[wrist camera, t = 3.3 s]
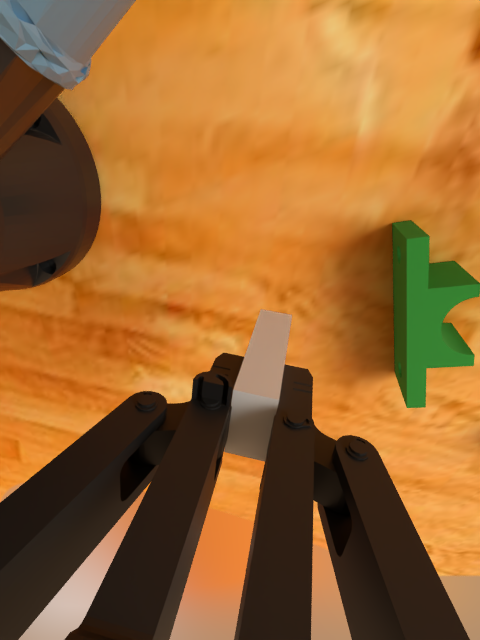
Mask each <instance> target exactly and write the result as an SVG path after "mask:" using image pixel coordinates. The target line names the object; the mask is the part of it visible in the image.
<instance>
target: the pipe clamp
mask: <svg viewBox="0 0 480 640" xmlns="http://www.w3.org/2000/svg"><path fill="white" fill-rule="evenodd" d="M392 239H393V301H394V364H395V374H396V377H397V380H398V383H399V386H400V389H401V392H402V395H403V398H404V401H405V404H406V407H407V408H420V407H425V405H426V368H439V367H458V366H474V354H473V352H472V351H471V349H470V348H469V347H468V345H467V344H466V343H465V341H464V340H463V338H462V337H461V336H460V334H459V333H458V332H457V330H456V329H455V328H454V326H453V325H452V323H442V322H443V320H444V318H445V316H446V315H447V313H448V312H449V311H450V310H451V309H452V308H453V307H454V306H455V305H457V304H458V303H460V302H462V301H464V300H467V299H470V298H473V297H479V294H480V283H479V282H478V281H477V280H475V279H474V278H473V277H472V276H471V275H470V274H469V273H468V272H466V271H465V270H464V269H463V268H462V267H461V266H460V265H459V264H457V263H456V262H455V261H449V262H440V263H431V264H429V235H427V234H426V233H425V232H424V231H423V230H422V229H421V228H419V227H418V226H417V225H416V224H415V223H414V222H412V221H411V220H410V221H403V222H396V223H392Z"/></svg>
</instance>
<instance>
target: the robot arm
mask: <svg viewBox="0 0 480 640" xmlns="http://www.w3.org/2000/svg"><path fill="white" fill-rule="evenodd" d="M135 1H136V0H0V291H5V290H19V289H27V288H32V287H36V286H39V285H42V284H45V283H47V282H49V281H51V280H53V279H55V278H57V277H59V276H61V275H63V274H64V273H66V272H68V271H69V270H71V269H72V268H74V267H75V266H76V265H77V264H78V263H79V262H80V261H81V260H82V259H83V258H84V257H85V255H86V254H87V252H88V251H89V249H90V247H91V245H92V243H93V241H94V239H95V236H96V233H97V230H98V226H99V221H100V213H101V193H100V185H99V179H98V174H97V170H96V166H95V162H94V159H93V157H92V154H91V151H90V149H89V146H88V144H87V142H86V140H85V138H84V136H83V134H82V132H81V130H80V128H79V127H78V125H77V123H76V122H75V120H74V119H73V117H72V116H71V114H70V113H69V112H68V110H67V109H66V108H65V107H64V105H63V104H62V103H61V102H60V101H59V100H58V98H57V97H58V96H59V94H60V93H61V92H62V91H63V90H64V89H72V90H73V88H74V87H75V86H76V85H77V84H79V83H80V82H81V81H83V80H84V79H86V77H87V76H88V75H89V71H90V67H91V57H92V56H93V54H94V53H95V52H96V51H97V49H98V48H99V47H100V45H101V44H102V43H103V42H104V40H105V39H106V38H107V36H108V35H109V34H110V33H111V31H112V30H113V29H114V28H115V26H116V25H117V24H118V22H119V21H120V20H121V19H122V17H123V16H124V15H125V14H126V12H127V11H128V10H129V8H130V7H131V6H132V5H133V3H134V2H135ZM291 319H292V315H289V314H284V313H278V312H273V311H268V310H263V309H261V310H260V313H259V316H258V319H257V322H256V325H255V328H254V331H253V334H252V337H251V340H250V342H249V345H248V348H247V351H246V354H245V357H242V356H237V355H232V354H228V353H223V354H221V355H220V356H218V357H217V358H216V359H215V361H214V363H213V366H212V368H211V370H210V371H208V372H202V373H200V374H198V375H196V376H195V378H194V379H193V389H192V399H191V401H189V402H185V403H177V404H167V401H166V399H165V397H164V396H162V395H161V394H159V393H156V392H152V391H143V392H139V393H136V394H134V395H132V396H130V397H129V398H128V399H127V400H125V401H124V402H123V403H122V404H120V405H119V406H118V407H117V408H116V409H114V410H113V411H112V412H111V413H109V414H108V415H107V416H106V417H105V418H103V419H102V420H101V421H100V422H98V423H97V424H96V425H95V426H94V427H92V428H91V429H90V430H89V431H87V432H86V433H85V434H84V435H83V436H81V437H80V438H79V439H78V440H76V441H75V442H74V443H73V444H72V445H70V446H69V447H68V448H67V449H65V450H64V451H63V452H62V453H61V454H59V455H58V456H57V457H56V458H54V459H53V460H52V461H51V462H50V463H48V464H47V465H46V466H45V467H43V468H42V469H41V470H40V471H39V472H37V473H36V474H35V475H34V476H32V477H31V478H30V479H29V480H28V481H26V482H25V483H24V484H23V485H21V486H20V487H19V488H18V489H17V490H15V491H14V492H13V493H12V494H10V495H9V496H8V497H7V498H6V499H4V500H3V501H2V502H1V503H0V640H18V639H19V638H20V637H21V636H22V635H23V633H24V632H25V631H26V630H27V629H28V627H29V626H30V625H31V624H32V622H33V621H34V620H35V619H36V618H37V617H38V615H39V614H40V613H41V612H42V611H43V610H44V608H45V607H46V606H47V605H48V603H49V602H50V601H51V600H52V599H53V598H54V596H55V595H56V594H57V593H58V592H59V590H60V589H61V588H62V587H63V586H64V584H65V583H66V582H67V581H68V580H69V579H70V577H71V576H72V575H73V574H74V572H75V571H76V570H77V569H78V568H79V567H80V565H81V564H82V563H83V562H84V561H85V559H86V558H87V557H88V556H89V555H90V554H91V552H92V551H93V550H94V549H95V548H96V546H97V545H98V544H99V543H100V542H101V540H102V539H103V538H104V537H105V536H106V534H107V533H108V532H109V531H110V530H111V529H112V527H113V526H114V525H115V524H116V523H117V521H118V520H119V519H120V518H121V516H122V515H123V514H124V513H125V512H126V511H127V509H128V508H129V507H130V506H131V505H132V504H133V502H134V501H135V500H136V499H137V498H138V496H139V495H140V494H141V493H142V492H143V490H144V489H145V488H146V487H147V486H148V484H149V483H150V482H151V483H150V485H149V487H148V489H147V491H146V493H145V495H144V497H143V500H142V502H141V504H140V506H139V508H138V510H137V512H136V514H135V516H134V518H133V520H132V522H131V524H130V526H129V528H128V530H127V532H126V535H125V536H124V539H123V541H122V543H121V545H120V547H119V549H118V551H117V553H116V555H115V557H114V559H113V561H112V563H111V565H110V567H109V569H108V571H107V573H106V575H105V578H104V579H103V581H102V584H101V586H100V588H99V590H98V592H97V594H96V596H95V598H94V600H93V602H92V604H91V606H90V608H89V610H88V612H87V614H86V616H85V618H84V620H83V622H82V624H81V625H80V626H79V627H78V628H77V629H75V630H74V631H72V632H70V633H69V635H68V636H67V637H66V638H65V640H169V639H170V635H171V632H172V629H173V625H174V621H175V619H176V615H177V612H178V609H179V605H180V601H181V598H182V595H183V592H184V588H185V585H186V582H187V578H188V575H189V572H190V568H191V564H192V561H193V558H194V555H195V551H196V548H197V545H198V541H199V538H200V534H201V531H202V528H203V524H204V521H205V518H206V514H207V511H208V508H209V504H210V501H211V497H212V494H213V491H214V487H215V484H216V481H217V477H218V474H219V471H220V467H221V464H222V457H223V452H227V453H232V454H236V455H240V456H244V457H248V458H253V459H257V460H261V461H265V465H264V470H263V475H262V479H261V484H260V493H259V498H258V504H257V510H256V516H255V522H254V528H253V533H252V539H251V545H250V551H249V557H248V563H247V568H246V575H245V580H244V586H243V592H242V597H241V604H240V609H239V615H238V621H237V627H236V632H235V639H234V640H311V601H312V600H311V599H312V598H311V597H312V546H313V500H314V501H316V502H318V511H319V514H320V518H321V522H322V526H323V530H324V534H325V538H326V541H327V545H328V549H329V553H330V557H331V561H332V564H333V568H334V572H335V576H336V580H337V584H338V588H339V591H340V595H341V599H342V603H343V607H344V610H345V615H346V619H347V622H348V626H349V630H350V634H351V637H352V640H470V639H469V637H468V635H467V633H466V631H465V630H464V627H463V625H462V623H461V621H460V619H459V617H458V615H457V613H456V611H455V609H454V606H453V604H452V602H451V600H450V598H449V596H448V594H447V592H446V590H445V588H444V586H443V584H442V582H441V580H440V578H439V576H438V574H437V572H436V570H435V568H434V566H433V564H432V561H431V559H430V557H429V555H428V553H427V551H426V549H425V547H424V545H423V543H422V541H421V539H420V537H419V535H418V533H417V531H416V529H415V527H414V525H413V523H412V521H411V519H410V516H409V514H408V512H407V510H406V508H405V506H404V504H403V502H402V500H401V498H400V496H399V494H398V492H397V490H396V488H395V486H394V484H393V482H392V480H391V478H390V476H389V474H388V471H387V469H386V467H385V465H384V463H383V461H382V459H381V457H380V455H379V453H378V451H377V450H376V449H375V447H374V446H373V445H372V444H371V443H369V442H368V441H367V440H365V439H362V438H360V437H357V436H352V435H347V436H342V437H341V438H339V439H338V440H337V441H336V440H334V439H332V438H330V437H328V436H326V435H324V434H323V433H321V432H320V431H319V430H318V429H317V428H316V427H315V425H314V421H313V420H312V390H313V387H312V386H313V377H312V375H311V374H310V372H309V370H308V369H304V368H299V367H294V366H289V365H285V358H286V352H287V345H288V339H289V332H290V326H291ZM224 448H225V451H224Z"/></svg>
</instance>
